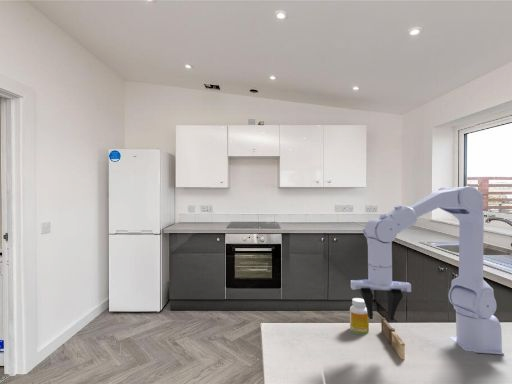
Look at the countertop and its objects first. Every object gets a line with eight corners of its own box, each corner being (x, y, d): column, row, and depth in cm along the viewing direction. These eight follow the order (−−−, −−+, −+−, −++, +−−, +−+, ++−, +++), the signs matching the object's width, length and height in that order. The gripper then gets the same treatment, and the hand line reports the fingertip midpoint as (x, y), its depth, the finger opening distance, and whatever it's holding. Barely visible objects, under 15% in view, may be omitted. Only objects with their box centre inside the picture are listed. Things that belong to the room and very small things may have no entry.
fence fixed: (385, 333, 87) (385, 317, 87) (396, 347, 78) (395, 330, 78) (380, 333, 87) (380, 317, 87) (389, 347, 78) (389, 330, 78)
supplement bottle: (371, 336, 84) (371, 303, 85) (353, 336, 85) (352, 302, 85) (365, 328, 90) (364, 297, 90) (347, 328, 90) (347, 296, 90)
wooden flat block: (391, 345, 78) (391, 331, 78) (395, 346, 78) (395, 331, 78) (400, 359, 71) (400, 343, 71) (405, 359, 71) (404, 343, 71)
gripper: (354, 267, 72) (354, 322, 71) (415, 269, 70) (416, 326, 70) (348, 261, 79) (349, 312, 78) (404, 263, 77) (405, 315, 76)
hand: (380, 318), depth 74 cm, fingers open, 4 cm apart
